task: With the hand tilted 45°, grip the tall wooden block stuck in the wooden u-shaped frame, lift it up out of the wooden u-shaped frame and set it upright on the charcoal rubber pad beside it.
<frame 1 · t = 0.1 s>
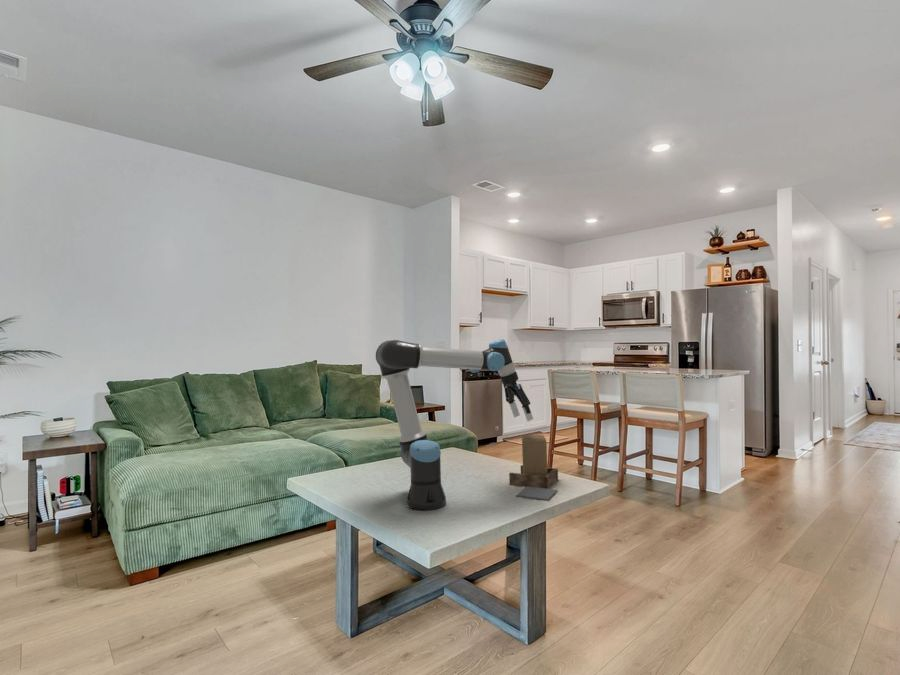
hand: (523, 418, 211), 28 cm above the table, tool tilted 20°, fingers open, 13 cm apart
wooden block: (535, 483, 208), resting in wooden u-shaped frame
wooden u-shaped frame: (535, 482, 208), on the table
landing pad: (537, 494, 191), on the table
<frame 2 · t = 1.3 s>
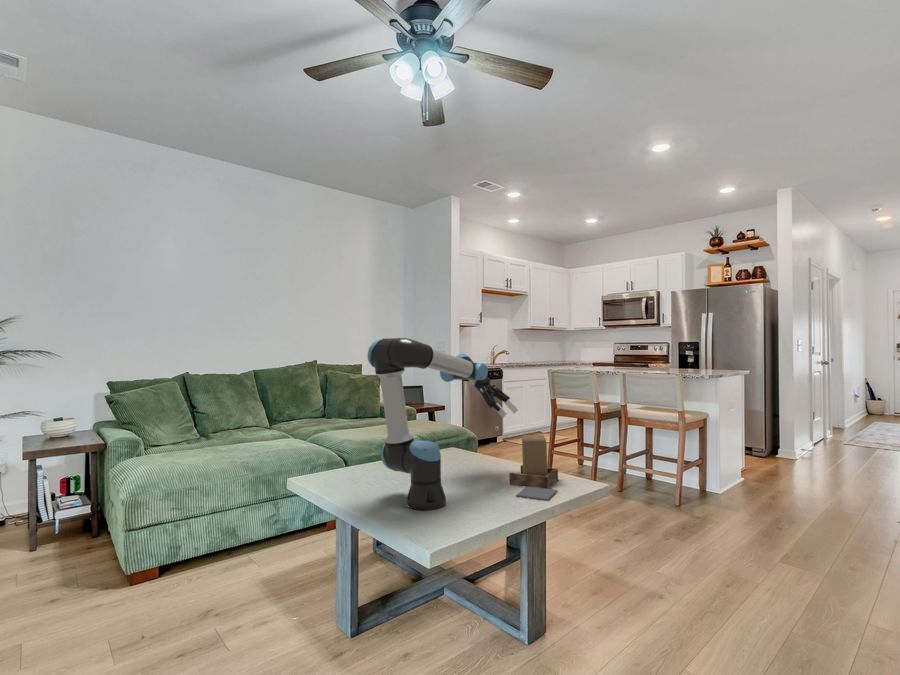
hand: (510, 413, 213), 30 cm above the table, tool tilted 45°, fingers open, 13 cm apart
nothing on the table moved.
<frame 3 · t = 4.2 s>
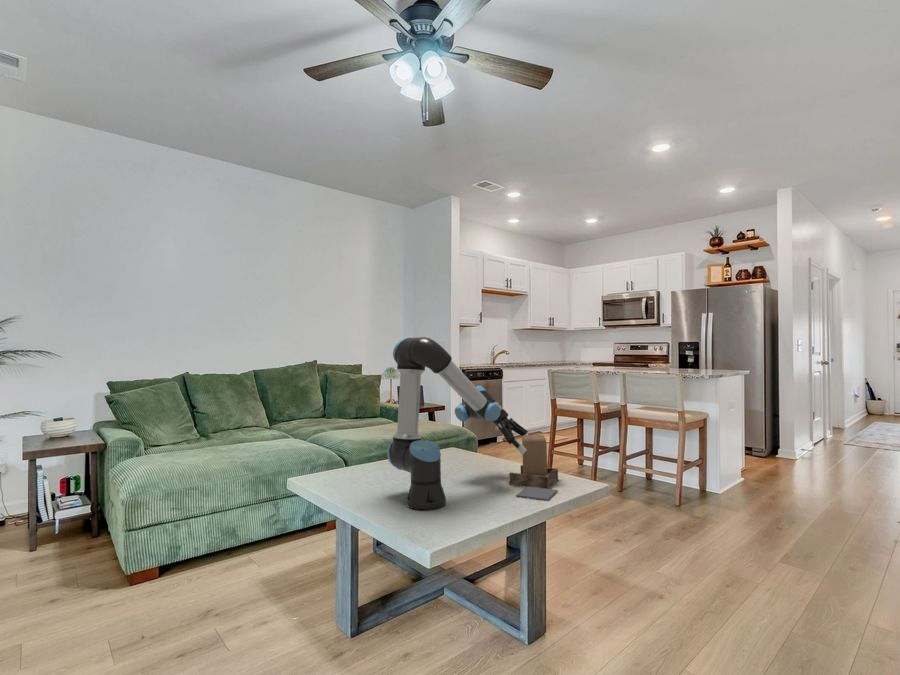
hand: (529, 449, 209), 14 cm above the table, tool tilted 45°, fingers open, 13 cm apart
wooden block: (535, 483, 208), resting in wooden u-shaped frame, touching gripper
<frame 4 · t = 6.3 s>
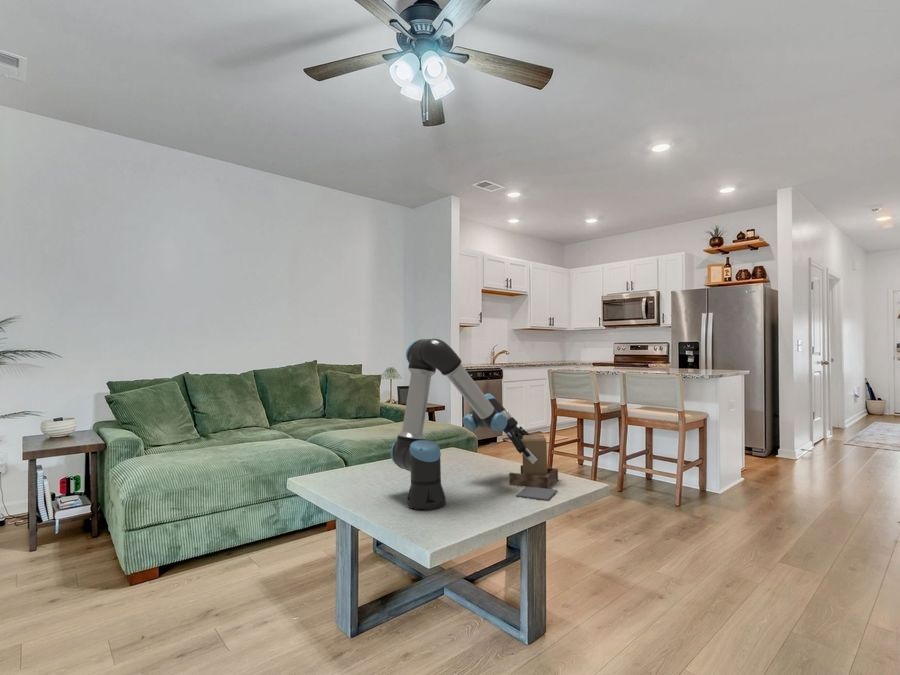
hand: (540, 458, 207), 11 cm above the table, tool tilted 45°, fingers closed on wooden block, 12 cm apart
wooden block: (535, 482, 208), resting in wooden u-shaped frame, touching gripper
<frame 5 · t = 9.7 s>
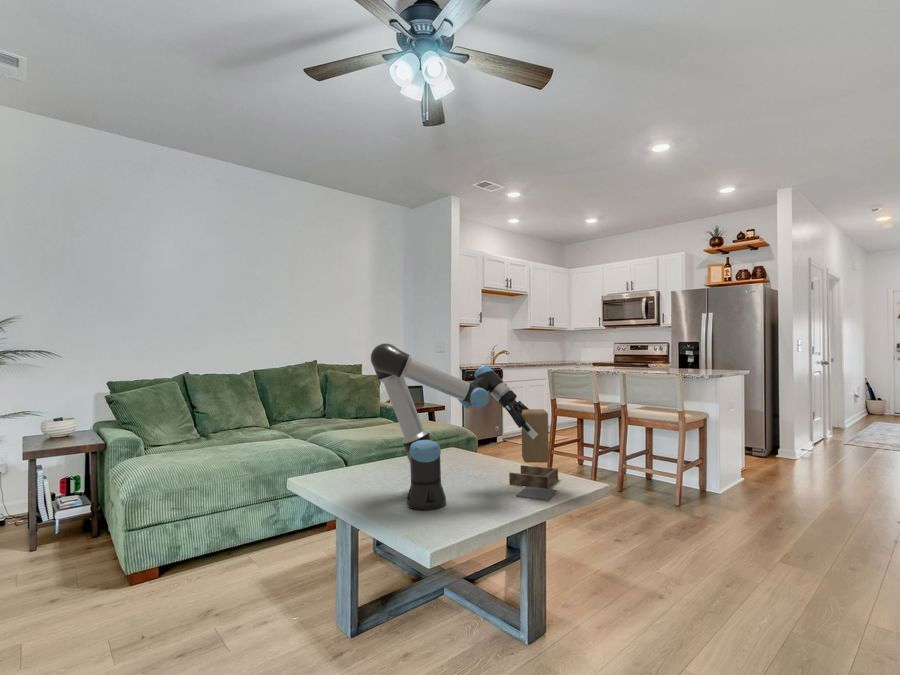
hand: (540, 434, 191), 24 cm above the table, tool tilted 45°, fingers closed on wooden block, 12 cm apart
wooden block: (535, 460, 192), point 13 cm above the table, touching gripper
when the fingers open (13 cm above the table, at t = 13.2 s): wooden block drops 1 cm, resting on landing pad.
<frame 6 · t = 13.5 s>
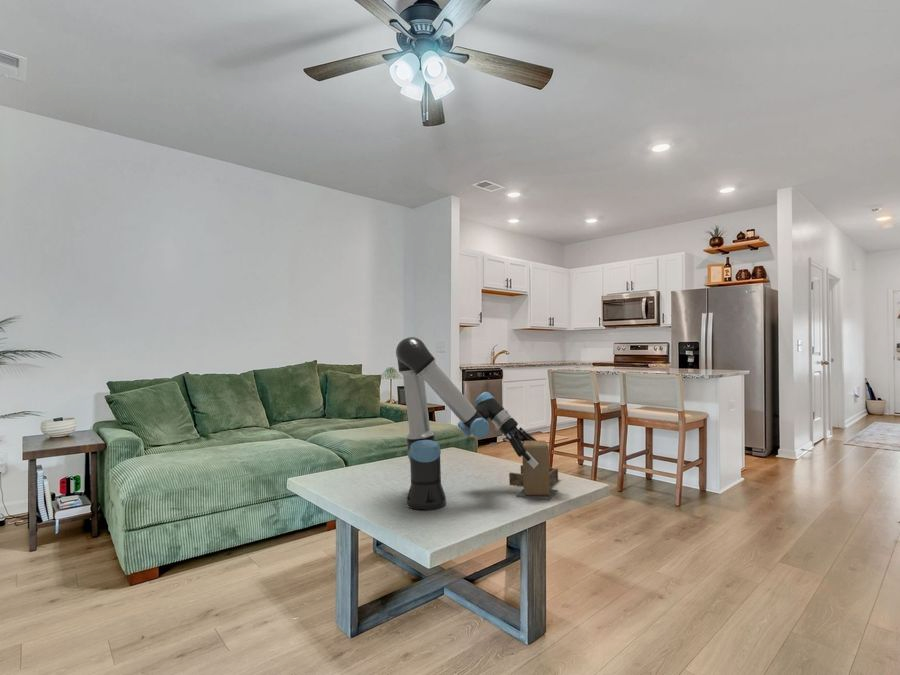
hand: (541, 462, 190), 13 cm above the table, tool tilted 45°, fingers open, 13 cm apart
wooden block: (536, 493, 191), point 1 cm above the table, touching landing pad
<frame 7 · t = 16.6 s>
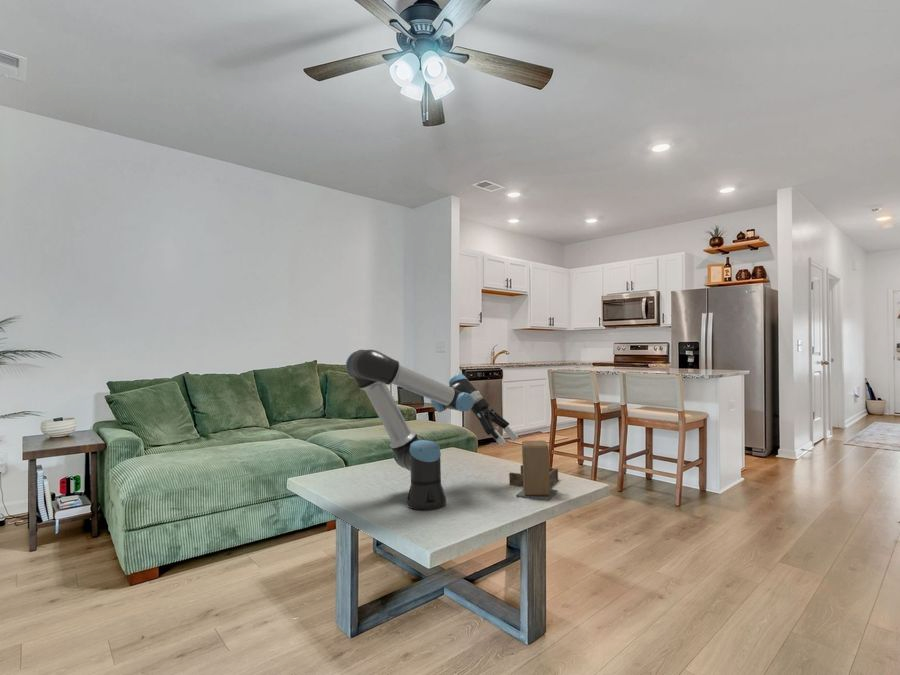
hand: (510, 441, 196), 20 cm above the table, tool tilted 45°, fingers open, 13 cm apart
nothing on the table moved.
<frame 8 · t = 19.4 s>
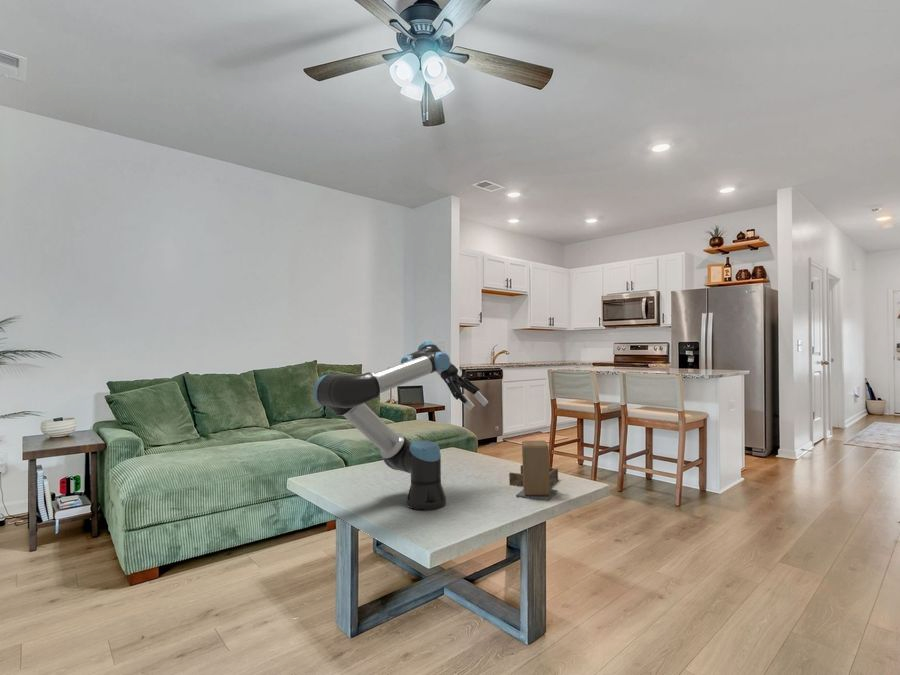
hand: (479, 406, 195), 36 cm above the table, tool tilted 45°, fingers open, 13 cm apart
nothing on the table moved.
at the end: wooden block inside the target area on the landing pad (0.3 cm from its centre), point 0.6 cm above the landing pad's base; wooden block tilted 0°; the gripper is holding nothing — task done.
